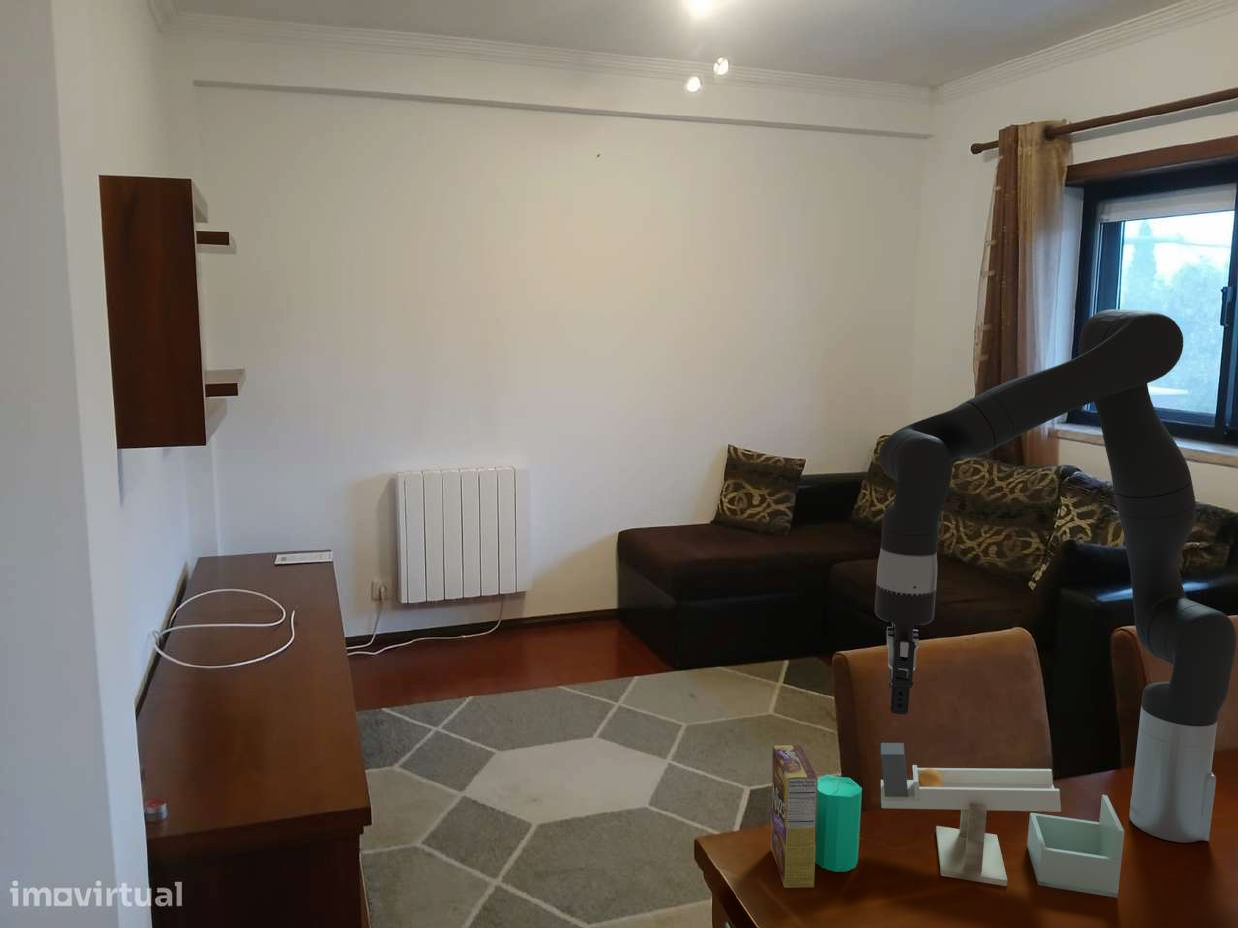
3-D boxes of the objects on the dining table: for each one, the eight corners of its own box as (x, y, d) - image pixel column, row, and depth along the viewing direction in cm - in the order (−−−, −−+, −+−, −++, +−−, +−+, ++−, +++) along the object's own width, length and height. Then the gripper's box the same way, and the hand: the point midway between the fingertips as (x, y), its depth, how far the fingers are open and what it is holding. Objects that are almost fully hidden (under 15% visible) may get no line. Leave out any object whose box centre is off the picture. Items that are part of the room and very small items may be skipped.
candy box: (767, 849, 126) (771, 743, 123) (798, 848, 126) (803, 743, 124) (781, 889, 117) (786, 776, 115) (814, 888, 117) (820, 776, 115)
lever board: (1052, 792, 124) (1048, 737, 123) (1061, 818, 117) (1058, 760, 116) (881, 789, 130) (877, 737, 129) (882, 814, 123) (877, 759, 122)
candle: (859, 874, 120) (864, 788, 118) (811, 868, 122) (816, 783, 120) (856, 848, 126) (861, 766, 124) (811, 843, 127) (815, 761, 125)
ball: (944, 783, 125) (937, 762, 125) (945, 793, 123) (938, 772, 122) (921, 787, 126) (914, 767, 126) (922, 798, 123) (915, 777, 123)
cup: (1100, 857, 125) (1107, 795, 123) (1117, 897, 116) (1124, 831, 115) (1027, 845, 127) (1032, 785, 126) (1038, 884, 119) (1044, 819, 117)
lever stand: (996, 839, 129) (1001, 775, 127) (1007, 886, 118) (1013, 816, 117) (935, 830, 131) (940, 767, 129) (941, 875, 120) (946, 806, 119)
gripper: (939, 601, 114) (930, 725, 116) (933, 571, 127) (924, 683, 130) (876, 595, 116) (868, 718, 118) (876, 566, 129) (869, 677, 132)
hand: (898, 699), depth 124 cm, fingers open, 8 cm apart
